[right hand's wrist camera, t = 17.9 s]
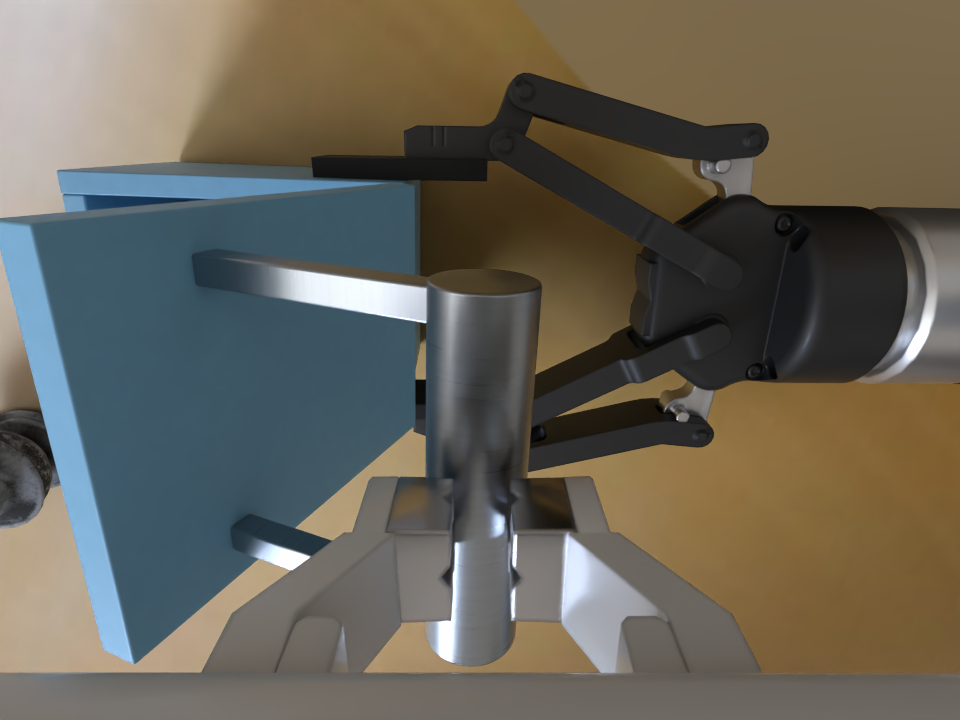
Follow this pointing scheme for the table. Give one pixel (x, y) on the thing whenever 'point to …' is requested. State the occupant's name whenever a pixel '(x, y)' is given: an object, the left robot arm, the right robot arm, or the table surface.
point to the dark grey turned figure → (24, 466)
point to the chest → (202, 188)
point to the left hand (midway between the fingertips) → (331, 291)
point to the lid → (265, 392)
